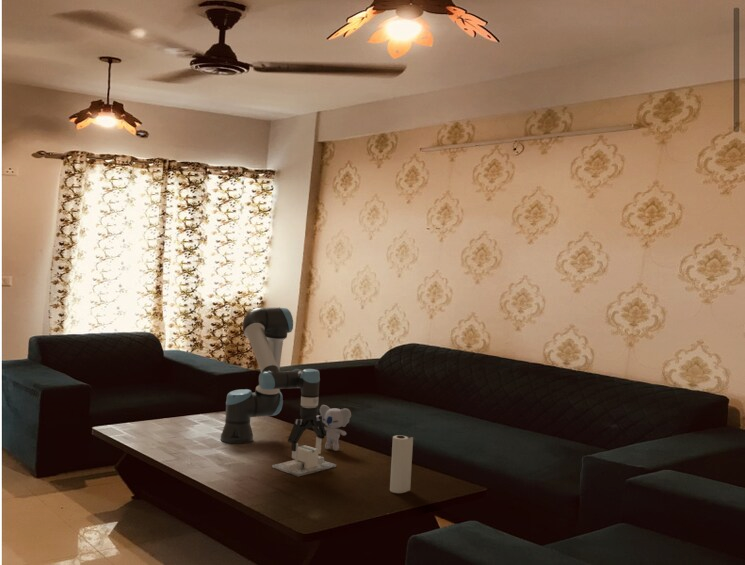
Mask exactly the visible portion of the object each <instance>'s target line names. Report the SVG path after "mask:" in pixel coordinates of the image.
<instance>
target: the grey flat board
mask: <svg viewBox="0 0 745 565" xmlns="http://www.w3.org/2000/svg"><path fill="white" fill-rule="evenodd" d="M294 460H295V459H292V460H287V461H284V462H281V463H275V464H272V465H271V468H273V469H276V470H278V471H281V472H284V473H285V474H286V473H287V474H290V475H292V476H295V477H303V476H305V475H310V474H314V473H318V472H321V471H325V470H329V469H333V468H336V467H337V464H336V463H332V462H329V461H326V460H325V457H324V456H321V455H318V466H314V467H310V468H305V467H304V464H305V462H302V461H295V462H294Z"/></svg>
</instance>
